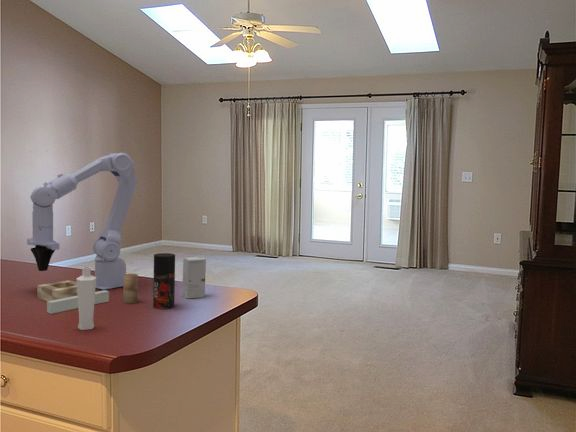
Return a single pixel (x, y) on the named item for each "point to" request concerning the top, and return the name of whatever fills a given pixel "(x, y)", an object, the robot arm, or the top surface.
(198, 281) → the skincare box
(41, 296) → the socket block
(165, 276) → the deodorant
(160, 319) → the top surface
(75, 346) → the top surface
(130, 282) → the oak dowel
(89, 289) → the white pump bottle
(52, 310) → the backstop wall
